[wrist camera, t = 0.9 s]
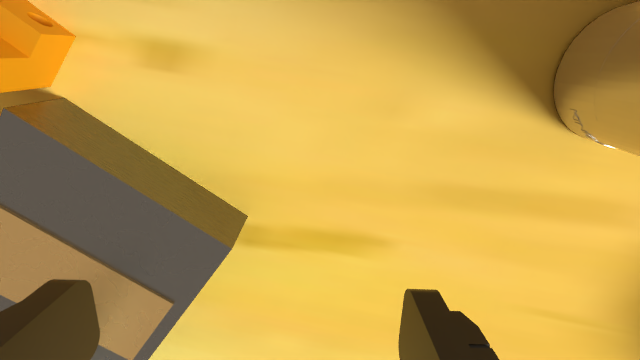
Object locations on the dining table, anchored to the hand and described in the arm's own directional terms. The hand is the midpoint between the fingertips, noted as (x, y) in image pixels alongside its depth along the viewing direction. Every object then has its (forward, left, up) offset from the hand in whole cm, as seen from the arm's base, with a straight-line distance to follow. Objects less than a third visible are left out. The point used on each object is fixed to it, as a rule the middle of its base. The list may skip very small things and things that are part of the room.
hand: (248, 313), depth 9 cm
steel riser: (+18, -8, -18) cm, 27 cm away
